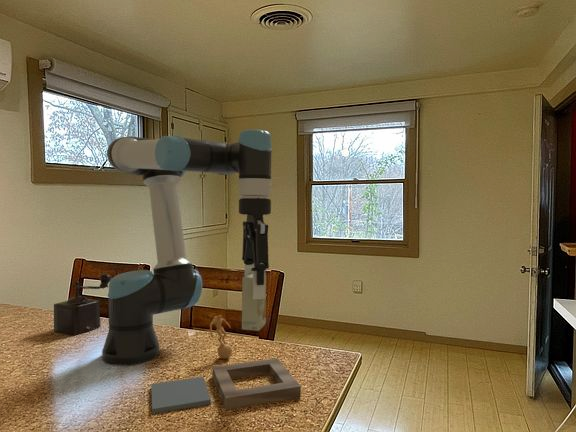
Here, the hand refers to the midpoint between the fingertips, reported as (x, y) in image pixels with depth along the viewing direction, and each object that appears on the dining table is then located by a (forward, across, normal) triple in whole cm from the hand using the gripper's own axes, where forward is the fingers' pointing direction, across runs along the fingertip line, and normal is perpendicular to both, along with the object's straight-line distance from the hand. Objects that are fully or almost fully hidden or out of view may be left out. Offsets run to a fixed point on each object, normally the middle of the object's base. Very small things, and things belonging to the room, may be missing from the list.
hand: (254, 294), depth 94 cm
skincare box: (+8, 0, 0) cm, 8 cm away
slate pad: (+22, +1, +17) cm, 28 cm away
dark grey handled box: (+22, +62, +44) cm, 79 cm away
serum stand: (+22, 0, 0) cm, 22 cm away
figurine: (+22, +20, +4) cm, 30 cm away
